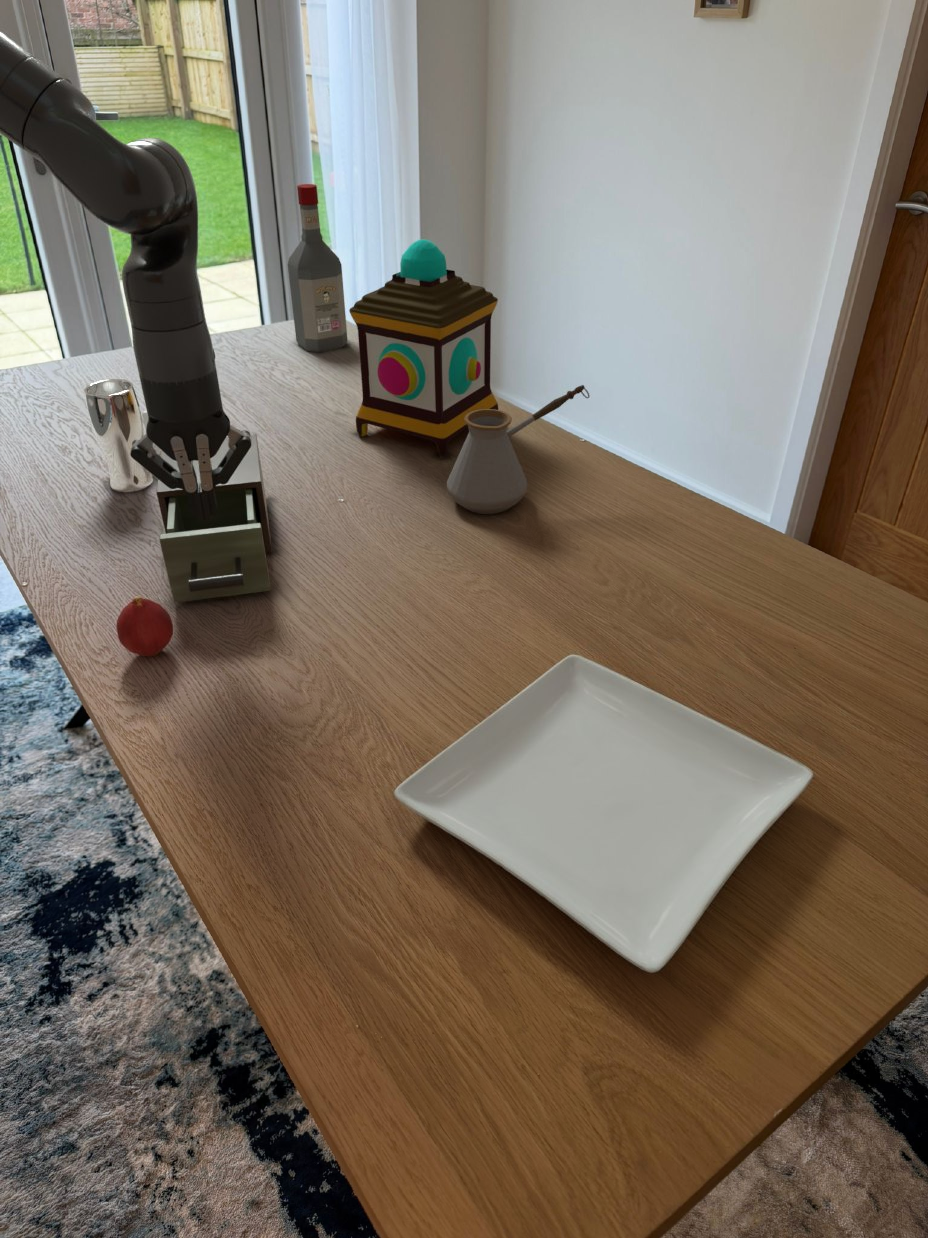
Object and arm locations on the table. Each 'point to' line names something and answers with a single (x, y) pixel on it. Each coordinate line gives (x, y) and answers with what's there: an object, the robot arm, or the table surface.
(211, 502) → the robot arm
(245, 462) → the cabinet
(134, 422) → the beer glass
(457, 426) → the decorative lantern
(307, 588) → the table surface
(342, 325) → the liquor
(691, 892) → the square plate
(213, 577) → the drawer
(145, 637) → the onion
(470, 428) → the coffee pot
